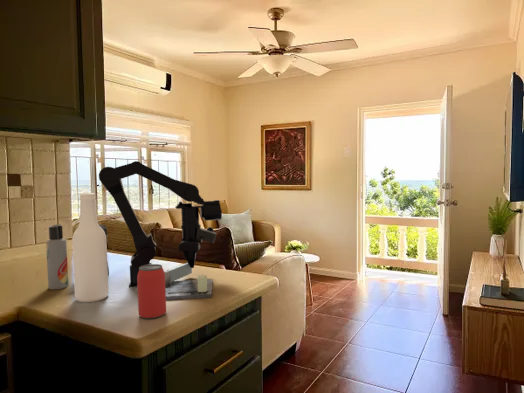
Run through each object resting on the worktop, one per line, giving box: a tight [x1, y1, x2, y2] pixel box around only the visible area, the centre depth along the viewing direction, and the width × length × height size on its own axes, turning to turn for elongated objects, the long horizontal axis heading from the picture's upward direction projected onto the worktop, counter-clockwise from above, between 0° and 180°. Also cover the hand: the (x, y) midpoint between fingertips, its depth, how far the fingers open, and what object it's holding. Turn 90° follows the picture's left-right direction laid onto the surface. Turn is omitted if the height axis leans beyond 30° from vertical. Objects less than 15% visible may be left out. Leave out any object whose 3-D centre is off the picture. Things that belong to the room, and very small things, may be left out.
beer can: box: [136, 263, 167, 320], centre depth 93 cm, size 7×7×12 cm
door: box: [164, 262, 193, 284], centre depth 122 cm, size 14×2×4 cm, turn 157°
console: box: [165, 278, 214, 301], centre depth 112 cm, size 15×16×1 cm
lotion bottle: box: [45, 223, 69, 290], centre depth 120 cm, size 6×6×20 cm
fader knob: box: [196, 274, 208, 292], centre depth 108 cm, size 2×3×4 cm
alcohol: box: [71, 192, 109, 303], centre depth 107 cm, size 9×9×30 cm
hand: (192, 267), depth 126 cm, fingers closed
